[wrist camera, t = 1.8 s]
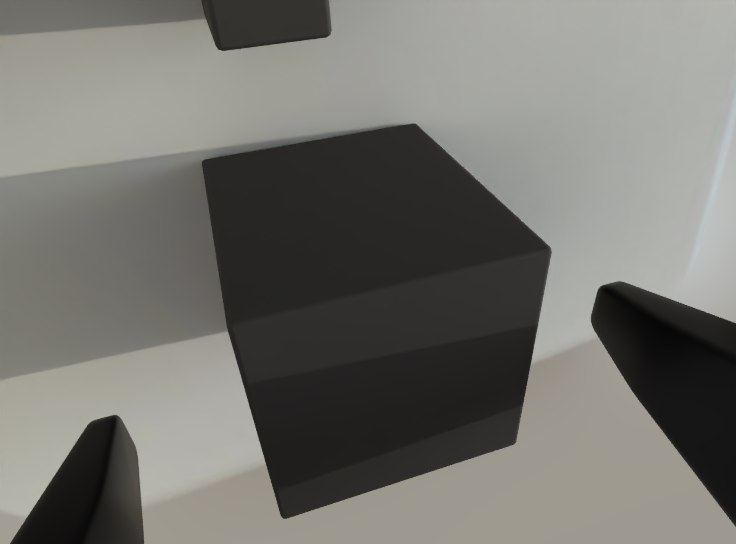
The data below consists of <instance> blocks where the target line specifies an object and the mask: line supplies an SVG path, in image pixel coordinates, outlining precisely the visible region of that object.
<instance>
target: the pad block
mask: <svg viewBox="0 0 736 544" xmlns="http://www.w3.org/2000/svg"><path fill="white" fill-rule="evenodd" d="M202 167H203V174H204V180H205V187H206V193H207V200H208V206H209V213H210V219H211V226H212V232H213V239H214V245H215V252H216V258H217V265H218V271H219V277H220V284H221V290H222V297H223V303H224V310H225V316H226V323H227V329H228V332H229V336H230V339H231V343H232V346H233V350H234V353H235V357H236V360H237V364H238V367H239V371H240V374H241V378H242V381H243V385H244V388H245V392H246V395H247V399H248V402H249V406H250V409H251V413H252V416H253V420H254V423H255V427H256V430H257V434H258V437H259V441H260V444H261V448H262V451H263V455H264V458H265V462H266V465H267V469H268V472H269V476H270V479H271V483H272V486H273V490H274V493H275V497H276V500H277V504H278V507H279V511H280V514H281V516H282V518H284V519H287V518H290V517H293V516H296V515H299V514H302V513H305V512H308V511H311V510H314V509H317V508H320V507H323V506H327V505H330V504H333V503H335V502H339V501H342V500H345V499H348V498H351V497H354V496H357V495H360V494H363V493H366V492H369V491H372V490H376V489H378V488H382V487H385V486H388V485H391V484H394V483H397V482H400V481H403V480H406V479H409V478H413V477H416V476H418V475H422V474H424V473H428V472H431V471H434V470H437V469H440V468H443V467H446V466H449V465H452V464H455V463H458V462H462V461H465V460H468V459H471V458H474V457H477V456H480V455H483V454H486V453H489V452H492V451H495V450H498V449H502V448H505V447H508V446H510V445H513V444H515V443H516V440H517V434H518V429H519V423H520V418H521V413H522V407H523V402H524V397H525V391H526V386H527V381H528V375H529V370H530V365H531V359H532V354H533V349H534V343H535V338H536V333H537V327H538V322H539V317H540V311H541V306H542V300H543V295H544V290H545V284H546V279H547V274H548V268H549V263H550V258H551V248H550V246H548V245H547V244H546V243H545V242H544V241H543V240H542V239H541V238H540V237H539V236H538V235H536V234H535V233H534V232H533V231H532V230H531V229H530V228H529V227H528V226H527V225H526V224H524V223H523V222H522V221H521V220H520V219H519V218H518V217H517V216H516V215H515V214H514V213H512V212H511V211H510V210H509V209H508V208H507V207H506V206H505V205H504V204H503V203H502V202H500V201H499V200H498V199H497V198H496V197H495V196H494V195H493V194H492V193H491V192H490V191H488V190H487V189H486V188H485V187H484V186H483V185H482V184H481V183H480V182H479V181H478V180H476V179H475V178H474V177H473V176H472V175H471V174H470V173H469V172H468V171H467V170H466V169H464V168H463V167H462V166H461V165H460V164H459V163H458V162H457V161H456V160H455V159H454V158H452V157H451V156H450V155H449V154H448V153H447V152H446V151H445V150H444V149H443V148H442V147H440V146H439V145H438V144H437V143H436V142H435V141H434V140H433V139H432V138H431V137H430V136H428V135H427V134H426V133H425V132H424V131H423V130H422V129H421V128H420V127H419V126H418V125H416V124H409V125H403V126H397V127H391V128H386V129H380V130H374V131H368V132H363V133H357V134H351V135H345V136H339V137H334V138H328V139H322V140H316V141H311V142H305V143H299V144H293V145H288V146H282V147H276V148H270V149H265V150H259V151H253V152H247V153H241V154H236V155H230V156H224V157H218V158H213V159H207V160H204V161H202Z"/></svg>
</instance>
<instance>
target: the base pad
mask: <svg viewBox="0 0 736 544" xmlns="http://www.w3.org/2000/svg"><path fill="white" fill-rule="evenodd" d="M202 4H203V9H204V13H205V17H206V20H207V23H208V25H209V28H210V31H211V34H212V37H213V39H214V42H215V45H216V47H217V48H218V50H222V51H226V50H234V49H241V48H249V47H256V46H264V45H272V44H279V43H287V42H294V41H302V40H310V39H317V38H325V37H328V36H329V35H330V34H331V19H330V8H329V0H202Z"/></svg>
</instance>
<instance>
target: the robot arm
mask: <svg viewBox="0 0 736 544" xmlns="http://www.w3.org/2000/svg"><path fill="white" fill-rule="evenodd" d="M591 323H592V326H593V328H594V330H595V332H596V334H597V335H598V337H599V338H600V340H601V342H602V343H603V345H604V347H605V348H606V350H607V351H608V353H609V355H610V356H611V358H612V360H613V361H614V363H615V364H616V366H617V368H618V369H619V371H620V373H621V374H622V376H623V377H624V379H625V381H626V382H627V384H628V385H629V387H630V388H631V390H632V391H633V393H634V394H635V395H636V397H637V398H638V400H639V401H640V402H641V403H642V405H643V406H644V407H645V409H646V410H647V411H648V413H649V414H650V415H651V417H652V418H653V419H654V420H655V422H656V423H657V424H658V426H659V427H660V428H661V430H662V431H663V432H664V433H665V435H666V436H667V438H668V439H669V440H670V441H671V443H672V444H673V445H674V447H675V448H676V449H677V451H678V452H679V453H680V455H681V456H682V457H683V458H684V460H685V461H686V462H687V464H688V465H689V466H690V468H691V469H692V470H693V472H694V473H695V474H696V475H697V477H698V478H699V479H700V481H701V482H702V483H703V485H704V486H705V487H706V488H707V490H708V491H709V492H710V494H711V495H712V496H713V498H714V499H715V500H716V501H717V503H718V504H719V506H720V507H721V508H722V509H723V511H724V512H725V513H726V515H727V516H728V517H729V519H730V520H731V521H732V523H733V524H734V525H735V526H736V323H733V322H731V321H728V320H725V319H723V318H719V317H717V316H714V315H712V314H709V313H706V312H704V311H701V310H698V309H695V308H693V307H690V306H687V305H684V304H682V303H679V302H676V301H674V300H671V299H668V298H666V297H663V296H660V295H657V294H655V293H652V292H649V291H646V290H644V289H641V288H638V287H636V286H633V285H630V284H627V283H625V282H620V281H619V282H613V283H610V284H606V285H603V286H601V287H600V288H599V289H598V292H597V295H596V299H595V303H594V307H593V310H592V314H591ZM143 534H144V533H143V519H142V506H141V493H140V479H139V466H138V456H137V451H136V447H135V444H134V442H133V440H132V438H131V437H130V435H129V433H128V431H127V429H126V427H125V425H124V423H123V421H122V419H121V418H120V417H119V416H117V415H112V416H108V417H104V418H101V419H97V420H94V421H92V422H90V423H89V424H88V425H87V427H86V428H85V430H84V431H83V433H82V434H81V436H80V437H79V439H78V441H77V442H76V444H75V445H74V447H73V448H72V450H71V451H70V453H69V454H68V456H67V457H66V459H65V460H64V462H63V463H62V465H61V467H60V468H59V470H58V471H57V473H56V474H55V476H54V477H53V479H52V480H51V482H50V483H49V485H48V486H47V488H46V489H45V491H44V492H43V494H42V496H41V497H40V499H39V500H38V502H37V503H36V505H35V506H34V508H33V509H32V511H31V512H30V514H29V515H28V517H27V518H26V520H25V522H24V523H23V525H22V526H21V528H20V529H19V531H18V532H17V534H16V535H15V537H14V538H13V540H12V542H11V543H10V544H144V535H143Z"/></svg>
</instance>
